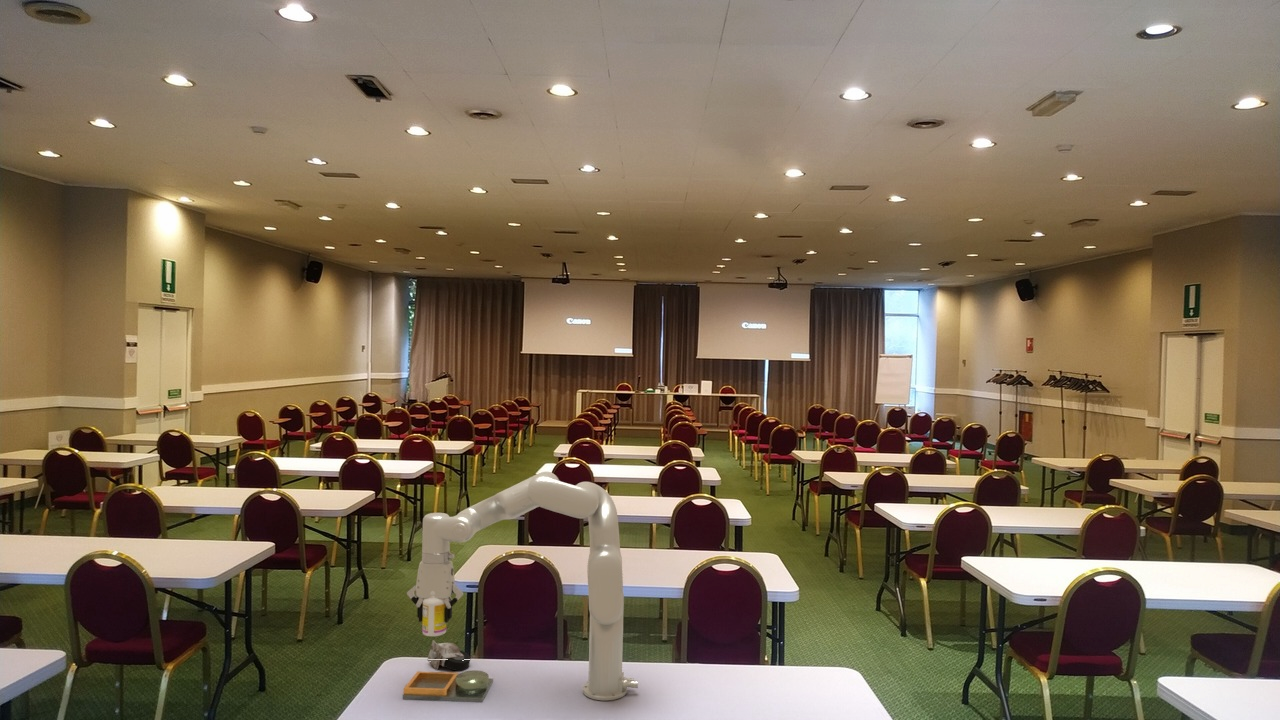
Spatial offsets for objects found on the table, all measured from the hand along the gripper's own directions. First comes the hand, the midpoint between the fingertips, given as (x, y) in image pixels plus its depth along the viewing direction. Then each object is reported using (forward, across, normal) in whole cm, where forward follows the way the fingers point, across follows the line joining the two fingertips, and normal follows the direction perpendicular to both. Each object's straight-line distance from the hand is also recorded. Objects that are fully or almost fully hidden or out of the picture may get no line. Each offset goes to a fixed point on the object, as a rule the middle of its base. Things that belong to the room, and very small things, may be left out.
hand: (434, 620), depth 218 cm
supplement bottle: (+4, 0, 0) cm, 4 cm away
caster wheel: (+20, 0, -18) cm, 27 cm away
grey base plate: (+20, -5, 0) cm, 20 cm away
